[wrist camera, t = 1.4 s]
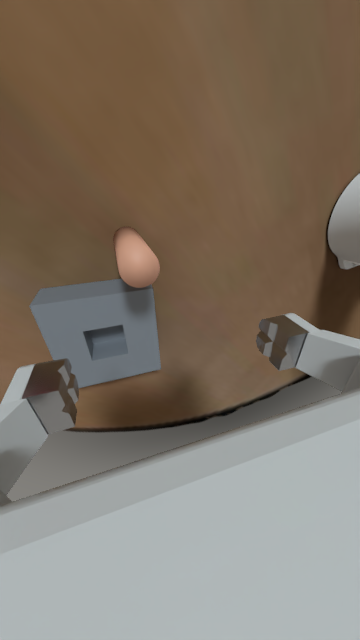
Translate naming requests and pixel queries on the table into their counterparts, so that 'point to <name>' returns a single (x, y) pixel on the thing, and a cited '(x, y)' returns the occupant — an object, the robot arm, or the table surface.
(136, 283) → the peg
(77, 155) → the table surface
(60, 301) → the socket block
